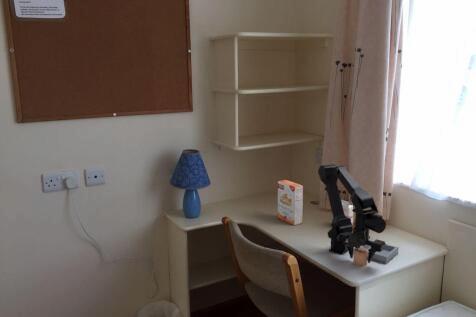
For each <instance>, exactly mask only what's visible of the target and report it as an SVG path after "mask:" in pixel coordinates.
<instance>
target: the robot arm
mask: <svg viewBox="0 0 476 317" xmlns="http://www.w3.org/2000/svg"><path fill="white" fill-rule="evenodd" d="M317 172H318V176H319V179H320V181H321V182H322V183H323V184H324V186H325V189H326V193H327V197H328V201H329V205H330V208H331V212H332V216H333V217H332V220H331V229H330V230H328V231H327V237H328V239H330V248H329V249H328V252H332V253H334V254H335V253H336V254H338V255H344V254H345V253H346V252H348V254H349V258H350V259H352V258H354V248H360V247H361V246H365V245H369V246H371V248H370V249H369V250H368V251H369V257H368V259H367V264H371V261H373V260H372V258H373V256H374V254H375V252H381V251H382V250H384V249H385V248H386V244H387V243H386V242H385V241H384V240H380V239H378V238H377V239H375V240H372V241H369V240H371V235H370V231H372V232H375V233H377V234H381V233H383V232H384V231H385V229H386V227H387V223H386V220H384V219H383V215H382V214H379V210H378V207H377V204H376V203H375V200H374V197H373V195H371V194H370V193H369V192H368V190H365V189H363V188H362V187H360V185H359V184H358V183H357V181H356V180H355V179H354V178H353V176H352V175H351V174H350V173H349V171H348V169H347V166H345V165H335V164H334V163H331V164H324V165H323V164H322V165H320V166H319V168H318V169H317ZM338 181H340V183H341V185H343V187H344V189H346V191H347V192H348V193H349V195H350V201H351V204H352V206H354V209H353V210H352V211H353V213H355V215H354V216H355V217H354V218H355V220H354V225H353V226H352V223H351V219H350V218H347V217H346V216H345V214H344V210H343V206H342V203H343V202H341V200H342V198H341V195H340V191H339V187H338ZM352 227H353V228H352ZM373 241H374V242H373Z"/></svg>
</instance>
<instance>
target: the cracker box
mask: <svg viewBox="0 0 476 317" xmlns="http://www.w3.org/2000/svg"><path fill="white" fill-rule="evenodd" d="M303 194H304V185H302V184H299V183H296V182H295V181H294V182H293V181H290V180H287V179H283V180H278V181H277V218H278V219H280V220H281V221H282V222H283V221H284V222H285V223H288V224H290V225H292V226H297V225H301V224H303V206H304V205H303V201H304V195H303Z"/></svg>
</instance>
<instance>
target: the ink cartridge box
mask: <svg viewBox="0 0 476 317" xmlns="http://www.w3.org/2000/svg"><path fill="white" fill-rule="evenodd" d="M341 202H342V206H343V210H344V214H345V216H346V217H347V218H350V219H351V223H352V226H353V227H352V228H354V212H353V211H352V210H353V206H354V205H353V204H352V205H351V204H350V202H349V200H348V201H346V200H343V199H341Z"/></svg>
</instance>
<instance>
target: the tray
mask: <svg viewBox="0 0 476 317" xmlns="http://www.w3.org/2000/svg"><path fill="white" fill-rule="evenodd" d="M369 241H373V242H374V241H375V240H371V239H369ZM360 247H361V248H365V249H367V250H369V249H370V248H371V246H369V245H365V246H360ZM399 248H400V247H399V246H394V245H391V244H387V243H386V248H385V249H384V250H382V251H381V252H375V254H374V256H373V258H372V260H371V261H375V262H378V263H382V264H385V265H387V264H388V263H389V262H391V261H392V260H393V258H395V257H396V256H398V255H399ZM368 257H369V251H368V256H367V260H368Z"/></svg>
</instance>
